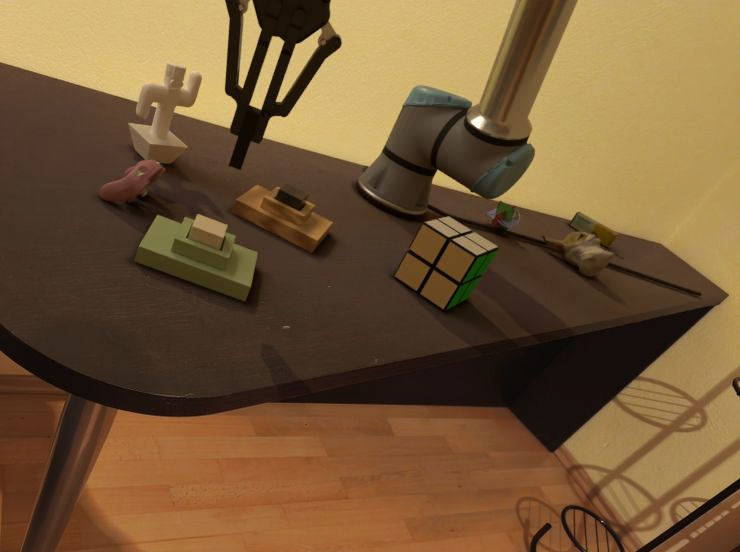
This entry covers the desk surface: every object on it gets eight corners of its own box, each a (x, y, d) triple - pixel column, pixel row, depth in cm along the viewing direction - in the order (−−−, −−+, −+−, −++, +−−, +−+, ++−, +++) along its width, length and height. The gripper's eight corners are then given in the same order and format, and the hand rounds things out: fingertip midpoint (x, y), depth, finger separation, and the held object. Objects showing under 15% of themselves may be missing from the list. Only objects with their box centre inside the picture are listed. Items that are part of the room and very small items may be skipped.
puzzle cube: (418, 266, 108) (447, 214, 103) (467, 299, 105) (500, 247, 99) (391, 276, 101) (422, 221, 95) (443, 312, 97) (478, 256, 92)
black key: (304, 205, 101) (309, 194, 100) (297, 212, 98) (302, 200, 97) (281, 194, 101) (286, 183, 100) (274, 200, 98) (278, 188, 97)
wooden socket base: (327, 234, 105) (337, 212, 103) (312, 253, 97) (322, 230, 95) (252, 196, 106) (261, 174, 104) (231, 212, 98) (239, 188, 96)
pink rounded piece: (118, 220, 86) (152, 187, 83) (94, 194, 85) (126, 160, 81) (145, 198, 94) (176, 168, 91) (122, 174, 93) (153, 142, 90)
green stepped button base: (252, 266, 86) (263, 240, 84) (244, 302, 78) (256, 274, 75) (153, 229, 84) (161, 202, 82) (134, 261, 76) (142, 232, 74)
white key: (223, 239, 81) (228, 225, 80) (218, 252, 78) (223, 237, 76) (193, 227, 80) (197, 213, 79) (187, 240, 77) (192, 225, 76)
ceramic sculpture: (604, 243, 132) (554, 212, 143) (580, 279, 136) (533, 246, 147) (633, 250, 138) (583, 220, 148) (609, 285, 142) (562, 252, 152)
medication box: (567, 225, 175) (575, 212, 172) (571, 223, 176) (579, 210, 174) (607, 247, 169) (616, 234, 167) (610, 246, 171) (619, 233, 169)
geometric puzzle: (500, 230, 137) (527, 204, 137) (476, 213, 140) (502, 188, 140) (502, 246, 143) (527, 222, 143) (479, 230, 147) (504, 206, 146)
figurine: (116, 143, 103) (138, 48, 95) (165, 148, 109) (190, 60, 101) (137, 165, 99) (162, 68, 91) (187, 168, 105) (215, 78, 97)
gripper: (244, -91, 58) (176, 153, 70) (376, -32, 59) (286, 195, 72) (252, -89, 64) (188, 134, 77) (371, -36, 66) (289, 174, 78)
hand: (236, 164), depth 74 cm, fingers closed
